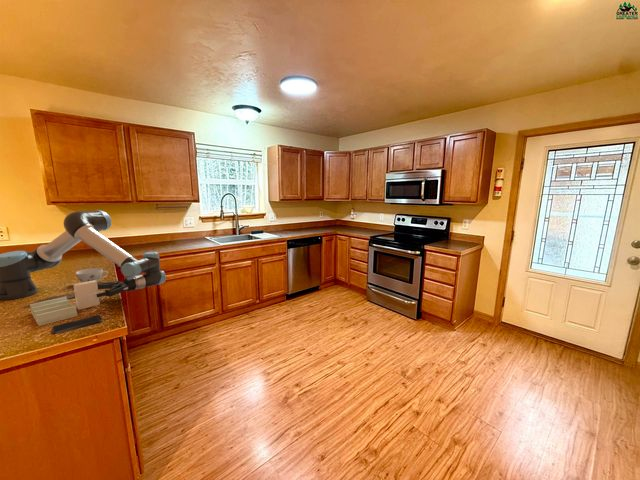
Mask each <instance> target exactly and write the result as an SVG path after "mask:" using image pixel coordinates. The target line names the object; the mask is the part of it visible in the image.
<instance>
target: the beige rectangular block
mask: <svg viewBox="0 0 640 480" xmlns="http://www.w3.org/2000/svg"><path fill="white" fill-rule="evenodd" d="M97 283H98V281H95V280H93V281H88V282H79V283H78V282H77V283H74V284H73V285H72V286H73V291H74V292H75V297H74V298H75V306H76V310H78V311H79V310H83V309H88V308H92V307H95V306H100V305H101V302H100V298H95V299H91V300H87V294H91V293H95V292H99V289H98V286H97Z"/></svg>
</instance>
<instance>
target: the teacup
mask: <svg viewBox="0 0 640 480" xmlns="http://www.w3.org/2000/svg"><path fill="white" fill-rule="evenodd" d="M104 273H106V275H104V276H103V274H104ZM75 275H76V278H77V279H78V280H79V281H80V283H83V282H88V281H93V280H95V281H97V282H98V281H100V280H101V279H104V278H106V277H108V275H109V271H108V270H103V268H99V267H94V268H93V267H92V268H85V269H81V270H77V271H76V272H75Z"/></svg>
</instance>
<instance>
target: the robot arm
mask: <svg viewBox="0 0 640 480" xmlns="http://www.w3.org/2000/svg"><path fill="white" fill-rule="evenodd" d="M111 226H112V218H111V216H110V214H108V213H107V212H106V211H104V210H99V209H95V210H80V211H79V210H78V211H73V212H70V213H68V214H67V215H66V216H65V217H64V220H63V227H64V229H65V231H64V232H62V233H60V235H58V236H57V237H55V238H54V239H53V240H51V241H50V242H49V243H47V244H41V245H40V246H39V245H38V247H37V248H35V249H33V250H32V251H31V250H30V251H26V250H14V251H8V252H7V251H6V252H2V253H0V301H10V300H15V299H23V298H25V297H29V296H33V295H35V294H37V293H39V291H38V286H37V285H36V284H35V282H34V281H33V280H32V277H31V273H34V272H35V273H36V272H39V271H44V270H47V269H51V268H54V267H57V266H58V265H60V263H62V259H63V254H65V253H66V252H68V251H70V250H71V249H72V248H73V247H74V246H76V245H77V244H79V243H80V242H84V243H85V244H86V245H88V246H89V247H91V248H92V249H93V250H95V251H97V252H98V253H99V254H101V255H103V256H104V257H105V258H106V259H108V260H110V261H111V262H112V263H114V264H115V265H117V266H118V267H119V268H120V272H121V273H122V275H123V276H124V279H123V281H119V280H115V281H105V282H97V286H98V290H101V291H98V292H95V293H91V294H87V300H91V299H95V298H99V299H101V298H103V297H108V298H109V297H110V298H111V297H113V296H116V295H118V294H120V293H123V292H124V293H125V292H131V291H135V290H142V289H144V288H148V287H153V286H157V285H161V284H163V283H165V282H166V281H167V276H166V273H165V271H164V270H161V262H160V260H161V259H160V255H159V252H158V251H148V252H144V253H143V255H142V258H138V259H137V258H136V257H134V256H133V255H132V254H130V253H129V252H127V251H126V250H124V249H123V248H121V247H120V246H119V245H117V244H116V243H114V242H113V241H112V240H110V239H109V238H108V237H106V236H105V235H104V234H102V233H101V232H102V231H107V230H109V229H110V228H111Z"/></svg>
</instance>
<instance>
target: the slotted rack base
mask: <svg viewBox="0 0 640 480" xmlns="http://www.w3.org/2000/svg"><path fill="white" fill-rule="evenodd" d="M33 303H34V302H33ZM29 304H30V306H29V307H30V313H31V315H32V317H33V318H34V320H35V322H36V323H37V325H38V327H41V326H45V325H49V324H52V323H56V322H57V323H58V322H60V320H61V321H63V320H68V319H71V318H74V317H75V318H77V317H78V311H77V310H78V309H77V306H76V305H74V304H73V302H71V301H70V299H67V297H62V298H57V299H53V300H48V301H43V302H39V303H34V304H31V303H29Z"/></svg>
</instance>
